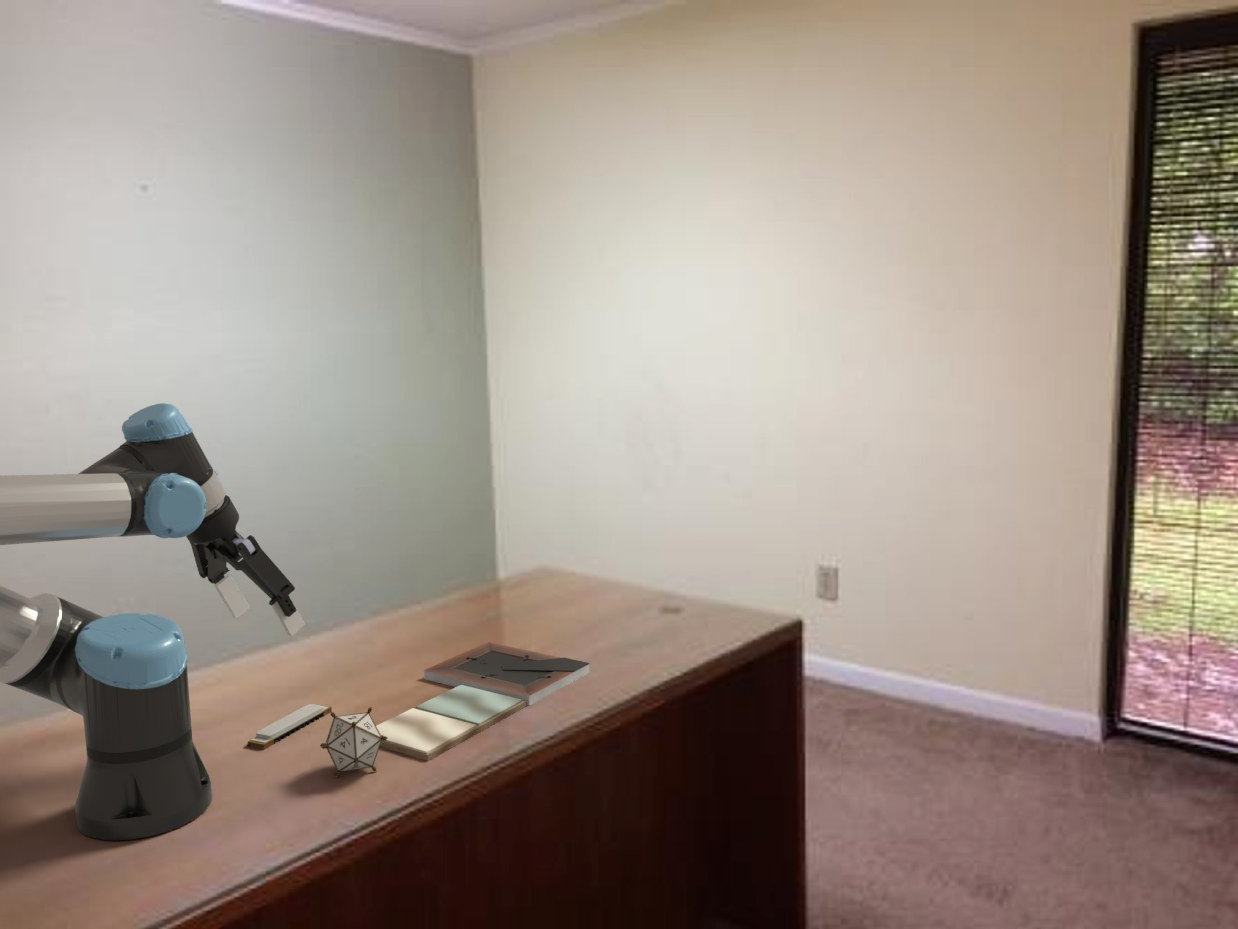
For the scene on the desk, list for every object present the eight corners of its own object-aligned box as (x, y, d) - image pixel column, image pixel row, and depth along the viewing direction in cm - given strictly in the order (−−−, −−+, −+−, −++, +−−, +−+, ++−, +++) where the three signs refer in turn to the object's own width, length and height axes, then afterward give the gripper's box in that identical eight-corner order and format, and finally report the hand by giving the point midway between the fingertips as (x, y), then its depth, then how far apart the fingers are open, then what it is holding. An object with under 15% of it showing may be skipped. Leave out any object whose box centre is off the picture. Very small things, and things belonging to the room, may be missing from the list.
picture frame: (589, 676, 172) (488, 654, 184) (589, 662, 172) (488, 640, 183) (529, 710, 158) (424, 683, 170) (528, 694, 158) (423, 668, 170)
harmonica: (315, 711, 158) (315, 699, 158) (332, 714, 157) (331, 702, 156) (246, 749, 145) (245, 736, 144) (264, 753, 143) (263, 739, 143)
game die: (363, 801, 136) (364, 764, 129) (306, 775, 137) (305, 736, 130) (397, 747, 142) (400, 708, 136) (343, 721, 144) (343, 682, 137)
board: (427, 761, 140) (427, 753, 139) (358, 740, 146) (358, 732, 146) (525, 706, 158) (525, 699, 158) (460, 690, 165) (460, 683, 165)
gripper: (276, 502, 139) (340, 620, 150) (174, 481, 154) (239, 590, 164) (233, 535, 134) (302, 655, 145) (132, 511, 149) (201, 621, 159)
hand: (269, 621), depth 155 cm, fingers open, 13 cm apart
